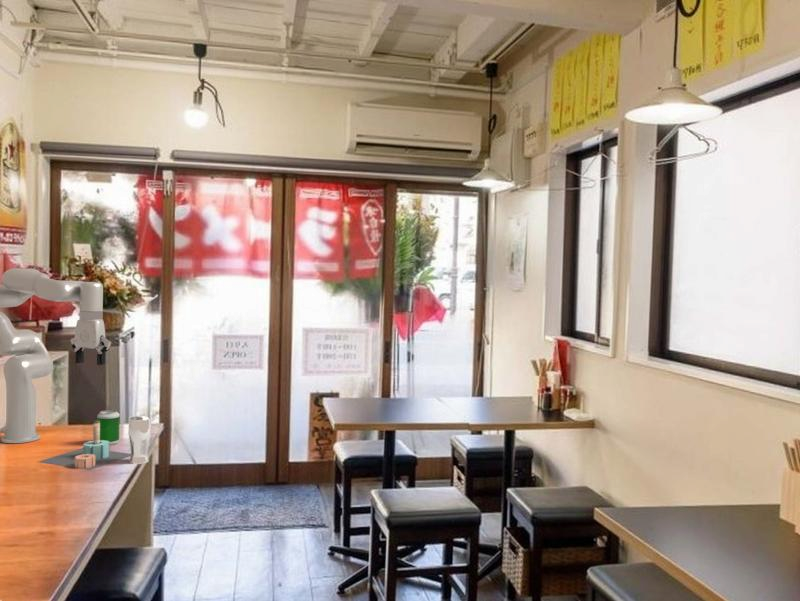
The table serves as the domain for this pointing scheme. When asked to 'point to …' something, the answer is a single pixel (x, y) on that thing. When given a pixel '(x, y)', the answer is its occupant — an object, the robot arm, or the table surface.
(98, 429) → the tan wooden dowel
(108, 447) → the pale teal gear
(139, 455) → the beer glass
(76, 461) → the bead small
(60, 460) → the mat
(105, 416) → the soda can
